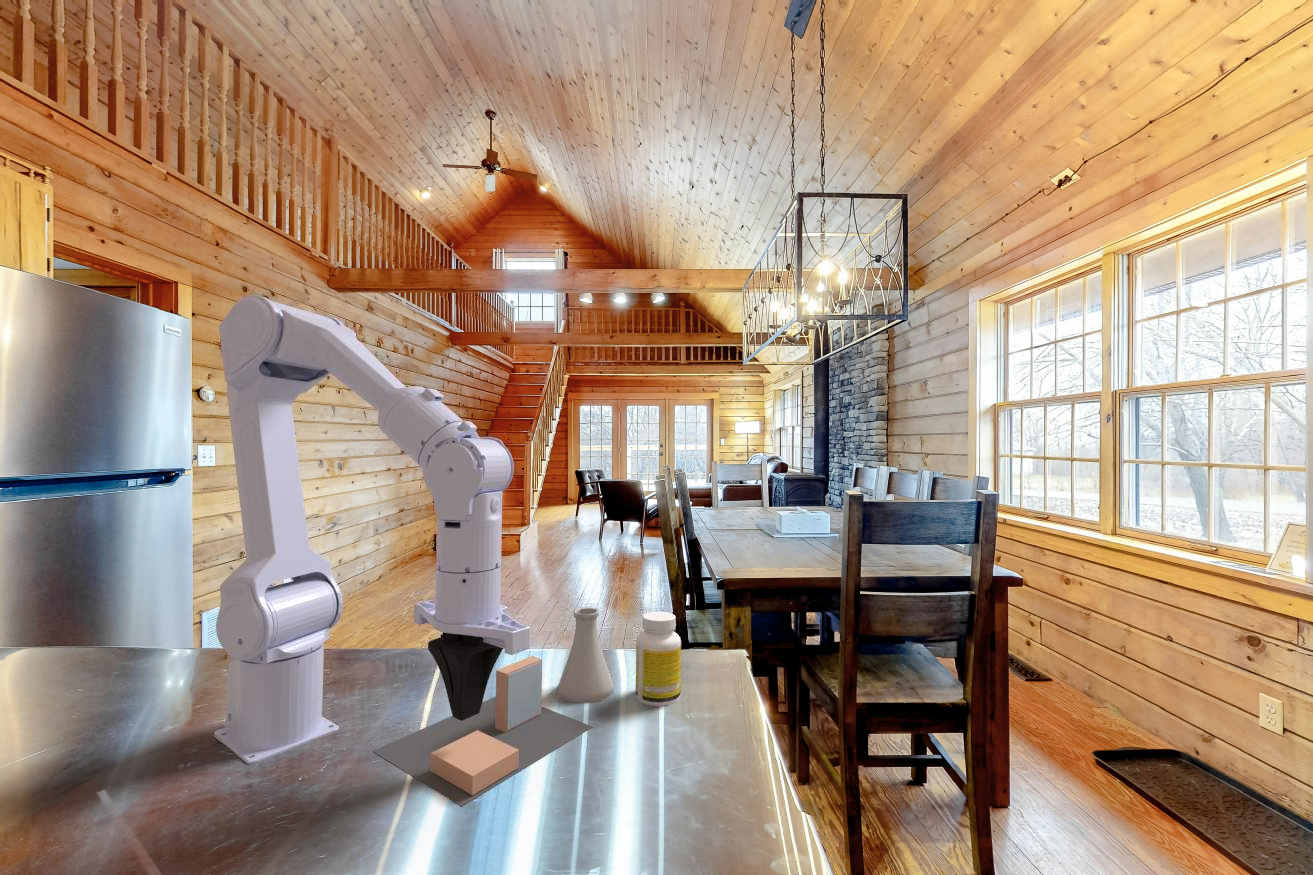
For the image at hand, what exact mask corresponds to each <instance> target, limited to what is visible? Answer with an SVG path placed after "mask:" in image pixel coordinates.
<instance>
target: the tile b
mask: <svg viewBox="0 0 1313 875" xmlns="http://www.w3.org/2000/svg"><path fill="white" fill-rule="evenodd" d="M542 686H543V659H542V658H540V657H537V656H533V655H531V656H528V657H526V658H523V659H522V660H519V661H516V662H514V663H510V664H508V665H505V666H503V667H501V668H498V669H496V670H495V696H496V706H495V728H496V729H498V730H500V731H502V732H505V733H506V732H508V731H510V730H512V729H513V728H515V727H517V726H519V725H521V724H523V723H525V722H527V721H529V720H531V719H533V718H535V717H537V716H538V715H540V714H541V708H542V707H543V706H542V705H543V704H542V702H543V701H542V700H543V699H542V698H543V697H542V696H543V690H542V689H543V687H542Z"/></svg>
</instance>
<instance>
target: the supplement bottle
mask: <svg viewBox="0 0 1313 875" xmlns="http://www.w3.org/2000/svg"><path fill="white" fill-rule="evenodd" d="M676 622H677V621H676V615H675V614H673V613H671V612H666V611H650V612H646V613H644V614H643V615H642V624H641V625H642V629H643V631H641V632H640V633H639V634H638V635H637V637H636V643H635V646H636V647H635V698H636V700H637V701H638V702H640V703H642V704H644V705H648V706H655V707H659V706H660V707H662V706H669V705H673V704H675V703H676V702H678V701H679V700H680V698H681V692H682V690H681V688H682V687H681V686H682V683H681V682H682V677H681V676H682V671H681V670H682V640H681V636H679V634H678V633H677V632H675V631H674V630H676V626H677V623H676Z"/></svg>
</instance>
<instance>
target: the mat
mask: <svg viewBox="0 0 1313 875" xmlns="http://www.w3.org/2000/svg"><path fill="white" fill-rule="evenodd" d="M495 706H496V695H495V696H493V697H491V698H489V699H487V700H484V701H482V705H481V709H480V712H479V713H478V714H476V715H474V716H472V717H470V718H467V719H465V720H463V721H461V720H458V719H456V718H454V717H453V715H451V716H450V715H449V716H448V717H447V718H443V719H442V720H440V721H437V722H435V723H433V724H430V725H428V726H426V727H423V728H421V729H419V730H417V731H415V732H412V733H410V734H408V735H406V736H404V737H401V738H398V739H396V740H394V741H392V742H390V743H388V744H385V745H382V746H381V747H379V748H376V749H373V750H372V753H374V754H376V755H377V756H379V757H380V758H382V759H384V760H385V761H386V762H389V763H391V765H393V766H395V767H397V768H398V769H400V770H402V771H403V772H405V773H407V774H408V775H410V776H412V778H415V779H417V780H418V781H419V782H421V783H422V784H425V785H426V786H427V787H429V788H431V789H432V790H434V791H436V792H437V793H439V794H440V795H442V796H444V797H446V798H448V799H449V800H451V802H454V803H456V804H457V805H459V806H460V807H464V806H466V805H467V804H470V803H471V802H472V801H475V800H476V799H478V798H479V797H481V796H483V794H486V793H487V792H489V791H490V790H491V791H492V789H494V788H496V787H497V786H499V785H500V784H503V782H505V781H507V780H509V779H510V778H512V777H514V776H515V775H517V774H519V773H520V772H522V771H524V770H526V768H528V767H530V766H531V765H533V764H534V763H536V762H539V761H540V760H542V759H543V758H545V757H547V756H548V755H549V754H551V753H553V752H554V751H556V750H558V749H560V748H561V747H563V746H565V745H566V744H567V743H569V742H571V741H573V740H574V739H576V738H577V737H579V736H581V735H583V734H584V733H586V732H588V731H589V730H591V729H593V728H594V727H593V726H592V725H590V724H587V723H585V722H583V721H580V720H578V719H575V718H572V717H569V716H566V715H564V714H562V713H559V712H557V711H554V710H551V709H550V708H549V709H548V708H547V707H544V706H542V708H541V714H540V715H538V716H537V717H535V718H533V719H531V720H529V721H527V722H525V723H523V724H521V725H519V726H517V727H515V728H513V729H512V730H510V731H508V732H506V733H505V732H502V731H500V730H498V729H496V728H495ZM477 730H478V731H480V732H482V733H484V734H486V735H489V736H491V737H493V738H495V739H497V740H499V741H501V742H503V743H506V744H508V745H510V746H512V747H514V748H516V749H518V750H519V768H517V769H516V770H514V771H512V772H511V773H509V774H507V775H506V776H504V777H502V778H501V779H499V780H497V781H496V782H494V783H492V784H491V785H489V786H487V787H486V788H484V789H482V790H481V791H479V792H477V793H476V794H474V795H471V794H469V793H467V792H466V791H464V790H462V789H460V788H459V787H457V786H455V785H454V784H452V783H450V782H448V781H447V780H445V779H443V778H442V777H440V776H438V775H436V774H435V773H433V772H431V753H432V752H434V751H436V750H438V749H440V748H442V747H444V746H446V745H448V744H450V743H452V742H454V741H456V740H459V739H461V738H463V737H465V736H467V735H469V734H471V733H473V732H475V731H477Z"/></svg>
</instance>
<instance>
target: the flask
mask: <svg viewBox="0 0 1313 875" xmlns="http://www.w3.org/2000/svg"><path fill="white" fill-rule="evenodd" d="M599 615H600V609H599V608H597V607H592V606H591V607H588V606H587V607H578V608H576V609H574V610H573V618H575V631H574V635H573V642H572V644H571V647H570V651H569V654H568V658H567V660H566V662H565V665H564V668H563V672H562V675H561V677H560V679H559V682H558V685H557V690H556V698H557V699H561V700H563V701H568V702H569V703H570V702H571V703H574V704H579V703H580V704H582V703H583V704H584V703H585V704H587V703H601V702H603V701H604V700H605V699H607V698H608V697H610V696H611V695H613V694H614V692H615V691H614V683H613V680H612V676H611V674H610V670H609V668H608V666H607V661H606V659H605V656H604V653H603V650H602V646H601V643H600V640H599V634H598V627H597V623H598V622H597V619H598V618H599V617H600V616H599Z"/></svg>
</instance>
